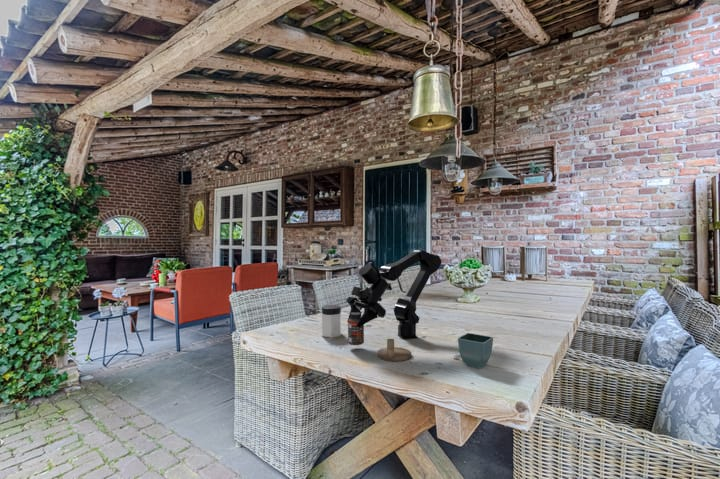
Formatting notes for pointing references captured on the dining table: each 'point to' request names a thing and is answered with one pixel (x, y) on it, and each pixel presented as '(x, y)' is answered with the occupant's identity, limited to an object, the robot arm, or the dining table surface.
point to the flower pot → (475, 349)
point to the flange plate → (397, 354)
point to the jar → (331, 321)
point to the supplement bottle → (355, 330)
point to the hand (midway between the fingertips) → (352, 324)
